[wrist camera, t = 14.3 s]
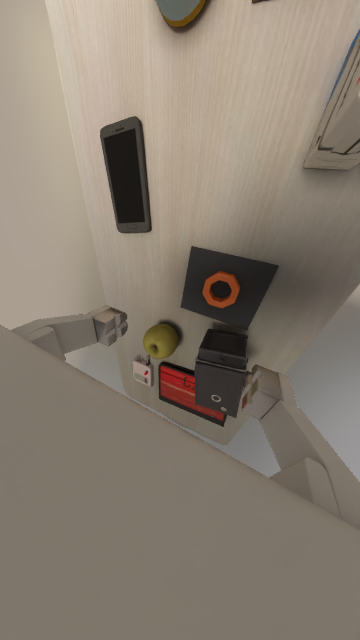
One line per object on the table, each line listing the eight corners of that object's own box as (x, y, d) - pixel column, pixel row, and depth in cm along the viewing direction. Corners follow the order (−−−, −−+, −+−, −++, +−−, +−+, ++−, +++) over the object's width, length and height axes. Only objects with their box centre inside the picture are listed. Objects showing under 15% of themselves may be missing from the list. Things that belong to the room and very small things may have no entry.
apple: (187, 327, 35) (174, 345, 29) (177, 350, 39) (164, 370, 33) (159, 312, 36) (141, 327, 30) (152, 336, 40) (136, 353, 35)
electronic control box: (137, 380, 54) (131, 387, 52) (134, 348, 46) (128, 354, 44) (153, 388, 52) (148, 395, 50) (153, 355, 44) (147, 362, 42)
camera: (247, 375, 36) (258, 322, 27) (245, 427, 27) (260, 373, 19) (203, 365, 39) (201, 316, 31) (188, 407, 31) (181, 355, 23)
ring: (244, 277, 25) (243, 279, 23) (232, 307, 28) (231, 311, 27) (210, 268, 26) (208, 270, 25) (202, 298, 29) (200, 301, 28)
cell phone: (120, 233, 30) (117, 233, 30) (102, 130, 24) (98, 127, 23) (151, 232, 28) (149, 232, 27) (141, 116, 21) (138, 113, 20)
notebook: (223, 428, 43) (158, 400, 50) (224, 420, 45) (161, 394, 52) (234, 390, 35) (156, 363, 42) (235, 382, 37) (160, 358, 44)
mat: (278, 265, 23) (278, 266, 22) (247, 329, 29) (247, 330, 29) (192, 246, 26) (191, 246, 26) (181, 306, 33) (180, 307, 32)
